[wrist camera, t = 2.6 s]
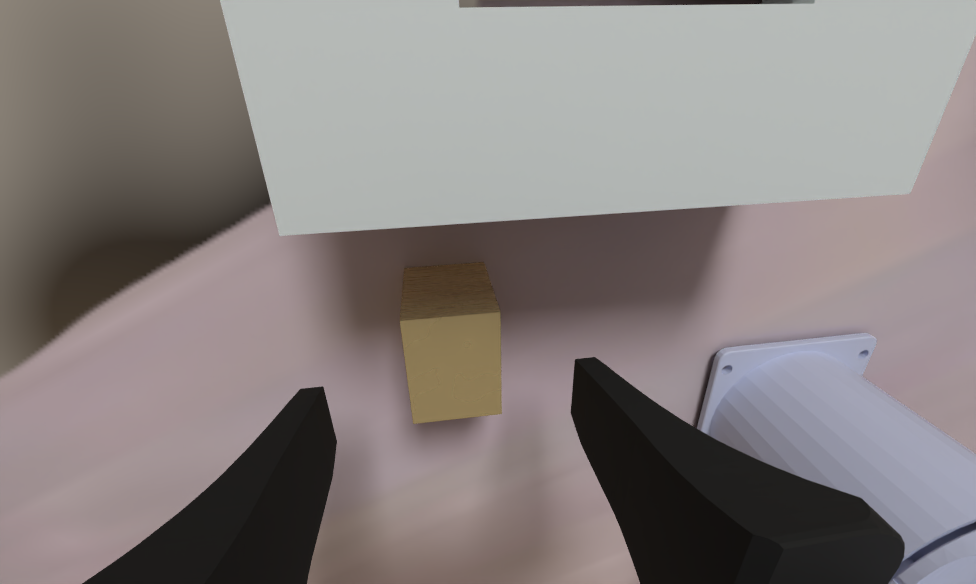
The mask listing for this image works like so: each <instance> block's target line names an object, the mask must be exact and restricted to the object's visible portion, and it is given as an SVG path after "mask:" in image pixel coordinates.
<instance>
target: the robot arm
mask: <svg viewBox="0 0 976 584" xmlns="http://www.w3.org/2000/svg"><path fill="white" fill-rule="evenodd" d="M876 342H877V340H876V338H875V337H874V336H872V335H870V334H868V333H859V334H850V335H840V336H831V337H821V338H812V339H802V340H793V341H783V342H774V343H765V344H755V345H746V346H736V347H727V348H723V349H721V350H720V351H719V352H718V353H717V354H716V356H715V358H714V362H713V366H712V370H711V374H710V378H709V382H708V386H707V390H706V394H705V398H704V402H703V406H702V410H701V414H700V418H699V422H698V426H697V428H695V427H693V426H691V425H690V424H688V423H686V422H685V421H683V420H681V419H680V418H678V417H677V416H675V415H674V414H672V413H671V412H669V411H667V410H666V409H664V408H663V407H661V406H660V405H658V404H657V403H656V402H654V401H653V400H651V399H650V398H648V397H647V396H646V395H644V394H643V393H642V392H640V391H639V390H637V389H636V388H635V387H633V386H632V385H631V384H629V383H628V382H627V381H626V380H624V379H623V378H622V377H620V376H619V375H618V374H616V373H615V372H614V371H613V370H611V369H610V368H609V367H607V366H606V365H605V364H604V363H602V362H601V361H600V360H598V359H597V358H595V357H592V358H583V359H575V367H574V379H573V392H572V404H571V415H572V418H573V421H574V424H575V427H576V431H577V433H578V436H579V439H580V442H581V445H582V447H583V449H584V451H585V453H586V455H587V458H588V460H589V462H590V464H591V466H592V468H593V470H594V472H595V474H596V476H597V479H598V481H599V483H600V485H601V487H602V489H603V491H604V493H605V495H606V497H607V499H608V501H609V504H610V506H611V508H612V510H613V512H614V514H615V516H616V519H617V521H618V523H619V526H620V528H621V531H622V533H623V536H624V539H625V542H626V544H627V547H628V550H629V553H630V555H631V558H632V561H633V564H634V566H635V569H636V572H637V575H638V578H639V581H640V584H976V454H975V453H974V452H972V451H971V450H969V449H968V448H966V447H965V446H963V445H962V444H960V443H959V442H958V441H956V440H955V439H953V438H952V437H950V436H949V435H947V434H946V433H944V432H943V431H941V430H940V429H939V428H937V427H936V426H934V425H933V424H931V423H930V422H928V421H927V420H925V419H924V418H922V417H921V416H919V415H918V414H917V413H915V412H914V411H912V410H911V409H909V408H908V407H906V406H905V405H903V404H902V403H900V402H899V401H897V400H896V399H895V398H893V397H892V396H890V395H889V394H887V393H886V392H884V391H883V390H881V389H880V388H878V387H877V386H876V385H874V384H873V383H871V382H870V381H868V380H867V379H865V378H864V377H862V375H863V373H864V370H865V368H866V366H867V364H868V361H869V359H870V357H871V355H872V352H873V350H874V348H875V346H876ZM725 366H726V367H725ZM724 367H725V368H724ZM336 444H337V440H336V436H335V432H334V428H333V424H332V420H331V416H330V412H329V408H328V404H327V400H326V396H325V392H324V388H323V387H314V388H305V389H300V390H299V391H298V392H297V393H296V395H295V396H294V397H293V398H292V399H291V400H290V401H289V402H288V404H287V405H286V406H285V407H284V408H283V409H282V411H281V412H280V413H279V414H278V415H277V416H276V417H275V419H274V420H273V421H272V422H271V423H270V424H269V425H268V427H267V428H266V429H265V430H264V431H263V432H262V433H261V434H260V435H259V437H258V438H257V439H256V440H255V441H254V442H253V443H252V444H251V445H250V447H249V448H248V449H247V450H246V451H245V452H244V453H243V454H242V455H241V456H240V457H239V458H238V459H237V460H236V461H235V462H234V463H233V464H232V465H231V466H230V467H229V468H228V469H227V470H226V471H225V472H224V473H223V474H222V475H221V476H220V477H219V478H218V479H217V480H216V481H215V482H214V483H212V484H211V485H210V486H209V487H208V488H207V489H206V490H205V491H204V492H202V493H201V494H200V495H199V496H198V497H197V498H196V499H194V500H193V501H192V502H191V503H190V504H189V505H188V506H186V507H185V508H184V509H183V510H182V511H180V512H179V513H178V514H177V515H175V516H174V517H173V518H172V519H170V520H169V521H168V522H166V523H165V524H164V525H163V526H161V527H160V528H159V529H158V530H156V531H155V532H154V533H152V534H151V535H150V536H149V537H147V538H146V539H145V540H143V541H142V542H141V543H140V544H138V545H137V546H136V547H134V548H133V549H131V550H130V551H129V552H127V553H126V554H124V555H123V556H122V557H120V558H119V559H117V560H116V561H115V562H113V563H112V564H110V565H109V566H108V567H106V568H105V569H103V570H102V571H100V572H99V573H97V574H96V575H94V576H93V577H91V578H90V579H88V580H87V581H85V582H84V583H82V584H307V579H308V574H309V569H310V565H311V560H312V556H313V552H314V548H315V544H316V540H317V536H318V532H319V528H320V524H321V521H322V517H323V513H324V509H325V505H326V501H327V497H328V493H329V489H330V485H331V481H332V476H333V469H334V462H335V453H336Z"/></svg>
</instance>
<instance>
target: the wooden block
mask: <svg viewBox="0 0 976 584" xmlns="http://www.w3.org/2000/svg"><path fill="white" fill-rule="evenodd" d="M400 327H401V335H402V342H403V350H404V357H405V365H406V373H407V380H408V388H409V395H410V403H411V410H412V418H413V424H417V423H426V422H435V421H443V420H452V419H461V418H470V417H479V416H487V415H496V414H502V406H501V316H500V309H499V306H498V303H497V300H496V297H495V294H494V291H493V288H492V285H491V282H490V279H489V276H488V273H487V270H486V267H485V264H484V262H478V263H465V264H452V265H438V266H425V267H412V268H404V278H403V289H402V301H401V312H400Z"/></svg>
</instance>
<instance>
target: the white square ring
mask: <svg viewBox="0 0 976 584" xmlns="http://www.w3.org/2000/svg"><path fill="white" fill-rule="evenodd" d="M220 2H221V6H222V10H223V14H224V18H225V22H226V26H227V30H228V34H229V38H230V42H231V46H232V49H233V54H234V58H235V62H236V65H237V69H238V73H239V77H240V81H241V85H242V89H243V93H244V97H245V101H246V105H247V109H248V113H249V117H250V121H251V125H252V129H253V133H254V136H255V140H256V145H257V149H258V153H259V156H260V160H261V164H262V168H263V172H264V176H265V180H266V184H267V188H268V192H269V196H270V200H271V204H272V208H273V212H274V216H275V220H276V224H277V228H278V232H279V236H286V235H301V234H316V233H331V232H346V231H361V230H376V229H391V228H406V227H421V226H435V225H450V224H465V223H480V222H495V221H510V220H525V219H540V218H555V217H570V216H585V215H600V214H615V213H630V212H645V211H660V210H675V209H689V208H704V207H719V206H734V205H749V204H764V203H779V202H794V201H809V200H824V199H839V198H854V197H869V196H884V195H899V194H910V193H911V190H912V188H913V186H914V183H915V181H916V178H917V176H918V173H919V171H920V169H921V166H922V164H923V161H924V159H925V157H926V154H927V152H928V149H929V147H930V144H931V142H932V140H933V137H934V135H935V132H936V130H937V127H938V125H939V123H940V120H941V118H942V115H943V113H944V110H945V108H946V106H947V103H948V101H949V98H950V96H951V93H952V91H953V89H954V86H955V84H956V81H957V79H958V77H959V74H960V72H961V69H962V67H963V64H964V62H965V60H966V57H967V55H968V52H969V50H970V47H971V45H972V43H973V40H974V38H975V35H976V0H762V3H761V4H730V5H642V6H555V7H470V8H468V7H467V8H459V0H220Z"/></svg>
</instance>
